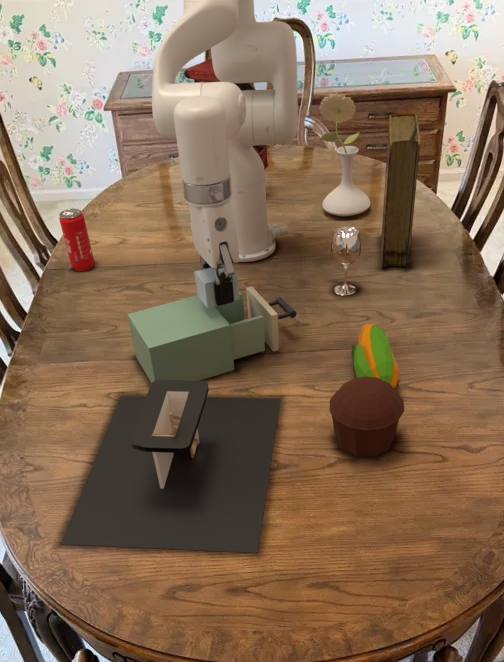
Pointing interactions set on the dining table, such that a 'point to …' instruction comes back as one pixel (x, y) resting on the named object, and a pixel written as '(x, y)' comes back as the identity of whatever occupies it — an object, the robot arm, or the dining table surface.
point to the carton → (211, 286)
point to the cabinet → (182, 340)
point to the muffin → (366, 415)
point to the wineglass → (345, 254)
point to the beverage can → (76, 239)
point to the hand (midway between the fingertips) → (218, 295)
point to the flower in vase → (343, 160)
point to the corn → (375, 356)
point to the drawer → (254, 323)
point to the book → (400, 188)
